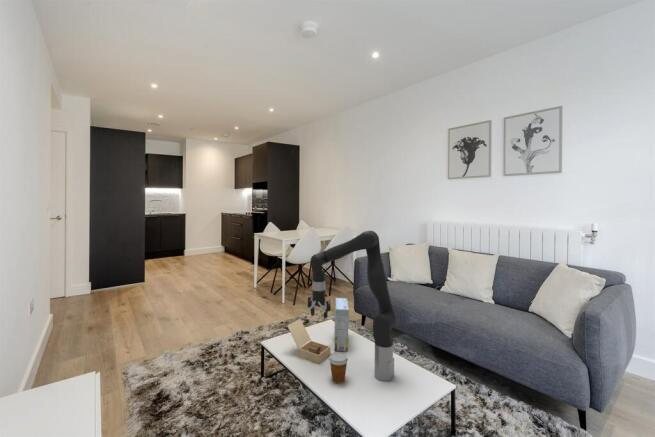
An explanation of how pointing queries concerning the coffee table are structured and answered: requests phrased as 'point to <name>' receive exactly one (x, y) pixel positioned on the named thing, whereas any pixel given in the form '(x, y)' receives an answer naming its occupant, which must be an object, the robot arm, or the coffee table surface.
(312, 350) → the walnut block
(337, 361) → the disposable coffee cup
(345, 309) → the snack box
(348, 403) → the coffee table surface
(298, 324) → the mailer lid
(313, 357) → the base
